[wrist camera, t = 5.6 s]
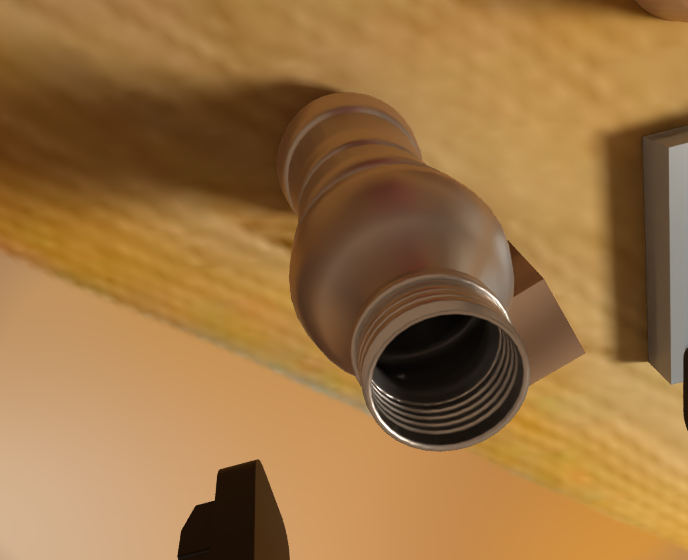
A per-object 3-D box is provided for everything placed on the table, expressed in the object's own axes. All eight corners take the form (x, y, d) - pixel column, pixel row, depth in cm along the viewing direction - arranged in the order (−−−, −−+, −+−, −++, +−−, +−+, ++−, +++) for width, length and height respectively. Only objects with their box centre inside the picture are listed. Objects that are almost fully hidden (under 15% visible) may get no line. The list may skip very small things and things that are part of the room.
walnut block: (427, 289, 36) (451, 334, 31) (507, 240, 35) (543, 278, 30) (470, 352, 38) (498, 403, 33) (546, 307, 37) (585, 353, 32)
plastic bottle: (347, 53, 30) (473, 165, 12) (436, 159, 32) (653, 384, 14) (246, 148, 31) (222, 381, 13) (340, 243, 34) (428, 546, 16)
